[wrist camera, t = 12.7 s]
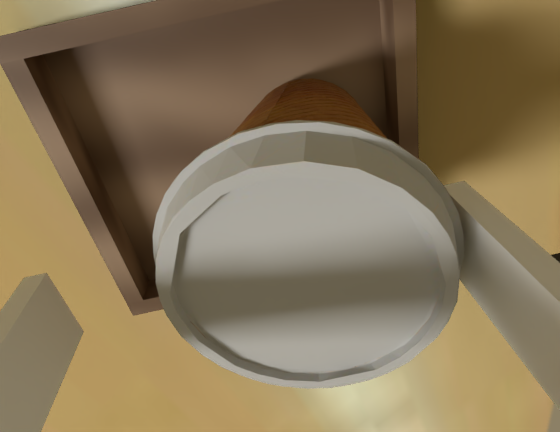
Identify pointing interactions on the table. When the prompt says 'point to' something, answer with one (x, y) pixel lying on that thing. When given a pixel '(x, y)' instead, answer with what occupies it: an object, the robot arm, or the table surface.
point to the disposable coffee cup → (308, 245)
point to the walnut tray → (191, 96)
